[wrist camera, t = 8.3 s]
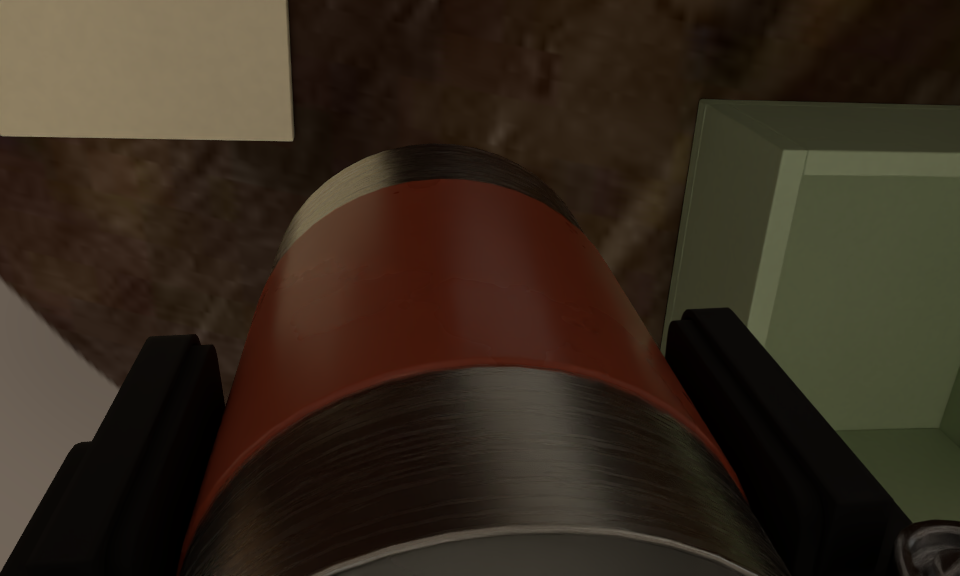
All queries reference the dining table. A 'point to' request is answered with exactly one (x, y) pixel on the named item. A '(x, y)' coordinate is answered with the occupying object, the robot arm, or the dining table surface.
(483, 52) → the dining table surface
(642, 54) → the dining table surface
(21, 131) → the mat
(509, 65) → the dining table surface
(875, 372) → the chest
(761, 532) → the can
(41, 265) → the dining table surface
